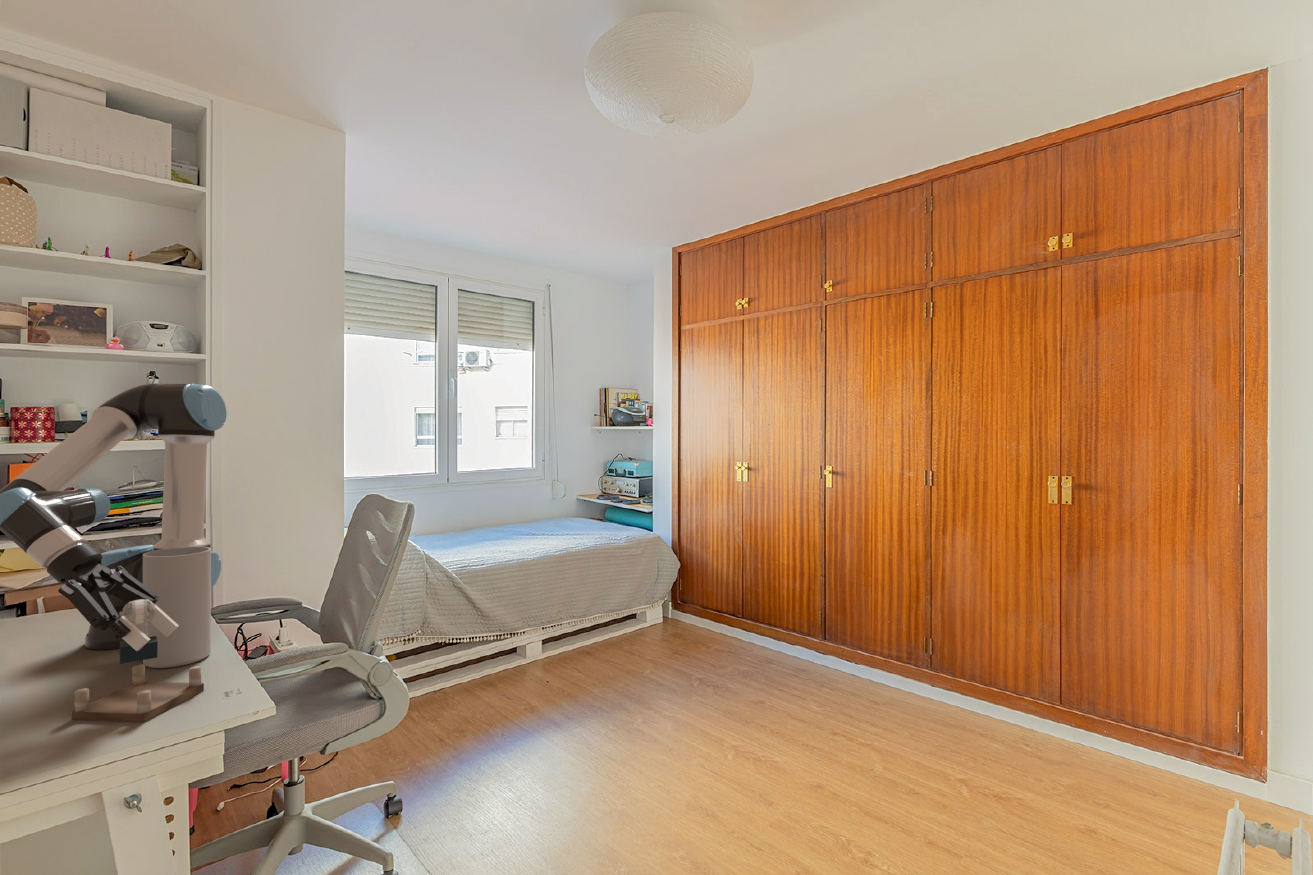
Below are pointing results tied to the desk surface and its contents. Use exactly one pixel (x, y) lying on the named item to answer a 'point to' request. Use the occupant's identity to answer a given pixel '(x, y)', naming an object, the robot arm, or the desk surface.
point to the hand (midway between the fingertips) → (158, 637)
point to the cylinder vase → (180, 603)
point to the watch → (139, 616)
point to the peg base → (129, 702)
